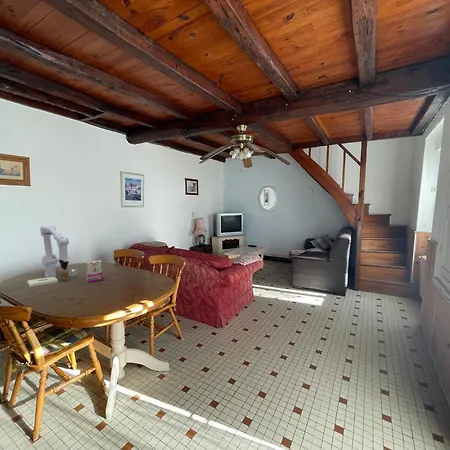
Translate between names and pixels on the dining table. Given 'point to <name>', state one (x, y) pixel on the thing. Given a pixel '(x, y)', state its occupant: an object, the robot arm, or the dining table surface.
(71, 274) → the grey round peg
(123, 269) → the dining table surface
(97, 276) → the candy bar box
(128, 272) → the dining table surface
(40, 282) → the socket plate
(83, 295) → the dining table surface
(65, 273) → the walnut bar
